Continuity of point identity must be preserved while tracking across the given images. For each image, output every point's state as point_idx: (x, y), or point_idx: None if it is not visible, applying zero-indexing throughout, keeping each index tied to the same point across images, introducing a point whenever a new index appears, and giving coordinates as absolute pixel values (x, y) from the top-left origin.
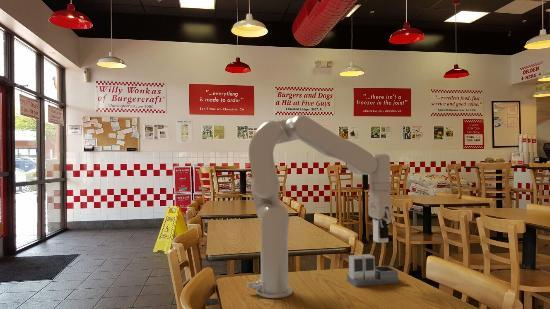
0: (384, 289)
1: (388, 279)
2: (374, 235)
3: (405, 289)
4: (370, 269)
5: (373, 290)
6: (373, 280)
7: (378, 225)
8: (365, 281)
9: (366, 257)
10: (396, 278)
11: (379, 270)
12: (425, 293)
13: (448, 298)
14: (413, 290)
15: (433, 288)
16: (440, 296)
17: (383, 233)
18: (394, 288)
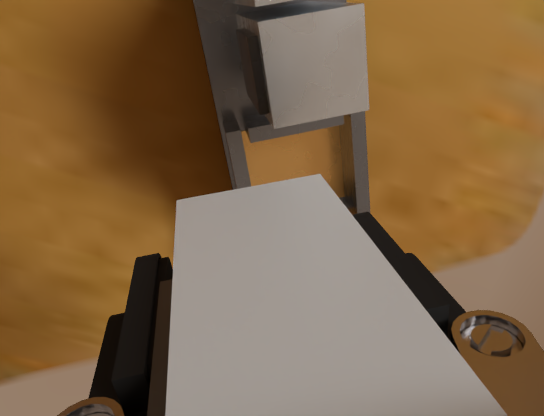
0: (137, 110)
1: (229, 170)
2: (298, 212)
3: (140, 221)
4: (242, 66)
5: (115, 34)
6: (207, 68)
7: (167, 387)
8: (195, 5)
9: (259, 43)
10: None
11: (345, 157)
12: (79, 291)
13: (13, 358)
14: (124, 253)
15: None
16: (38, 337)
17: (104, 341)
18: (157, 171)
